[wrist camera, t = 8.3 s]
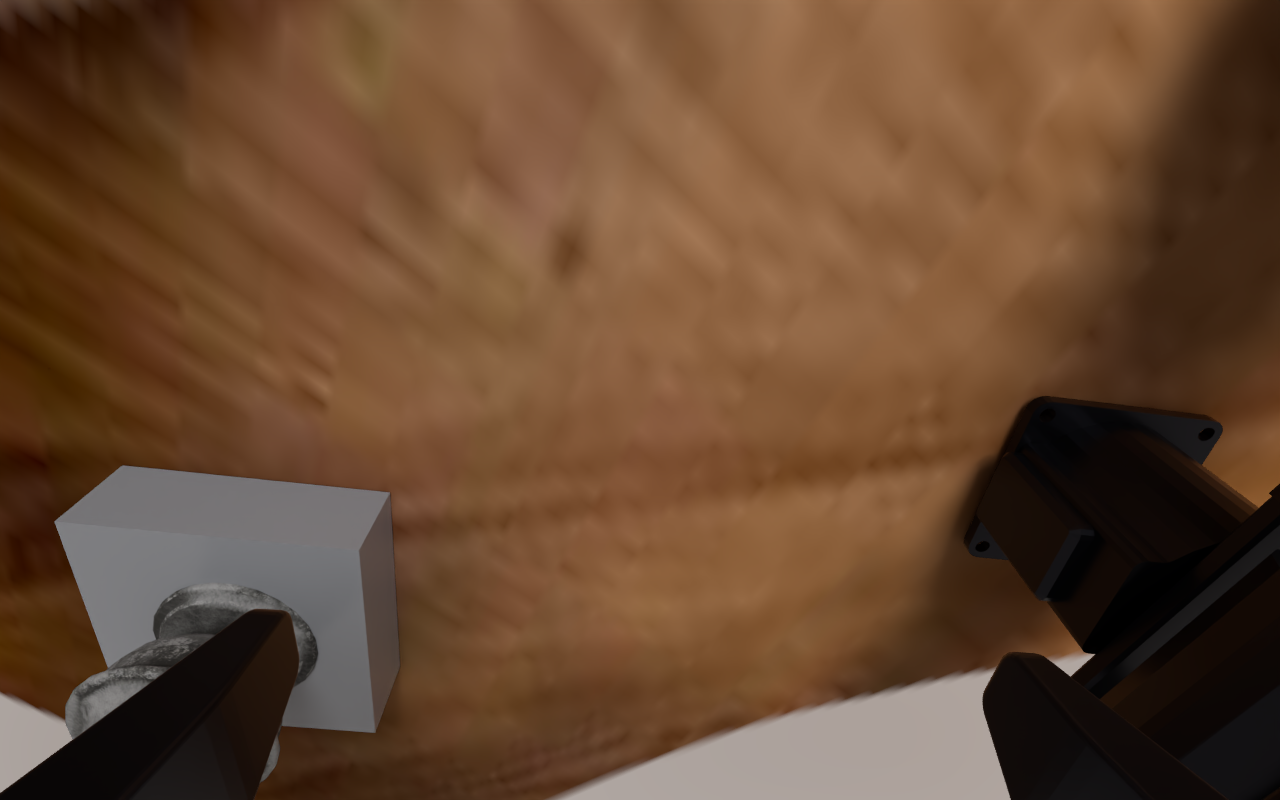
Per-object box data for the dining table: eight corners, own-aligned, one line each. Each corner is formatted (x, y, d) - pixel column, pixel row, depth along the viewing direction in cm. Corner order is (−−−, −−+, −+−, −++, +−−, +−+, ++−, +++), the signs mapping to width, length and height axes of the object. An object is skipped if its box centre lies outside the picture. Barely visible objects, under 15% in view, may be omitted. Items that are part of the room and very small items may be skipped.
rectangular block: (390, 492, 23) (359, 550, 21) (400, 666, 27) (375, 732, 25) (122, 465, 23) (54, 521, 20) (174, 647, 27) (125, 713, 24)
